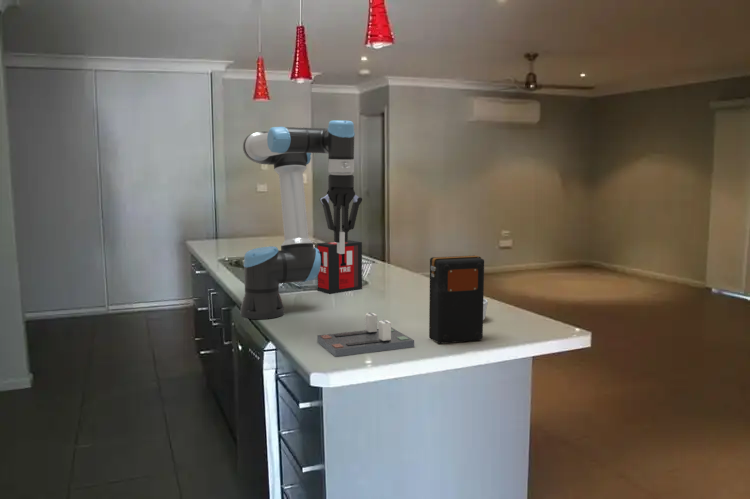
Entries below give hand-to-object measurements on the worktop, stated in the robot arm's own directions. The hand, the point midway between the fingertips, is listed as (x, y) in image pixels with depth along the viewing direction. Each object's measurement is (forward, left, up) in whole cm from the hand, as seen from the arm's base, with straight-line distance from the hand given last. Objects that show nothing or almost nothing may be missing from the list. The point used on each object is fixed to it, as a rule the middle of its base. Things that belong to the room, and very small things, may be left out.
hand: (340, 253), depth 190 cm
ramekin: (-3, +46, -26) cm, 53 cm away
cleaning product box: (-69, +24, -26) cm, 78 cm away
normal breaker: (+6, +7, -23) cm, 25 cm away
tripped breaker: (+16, +7, -23) cm, 29 cm away
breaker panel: (+11, +3, -26) cm, 28 cm away
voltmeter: (+17, +30, -26) cm, 43 cm away
